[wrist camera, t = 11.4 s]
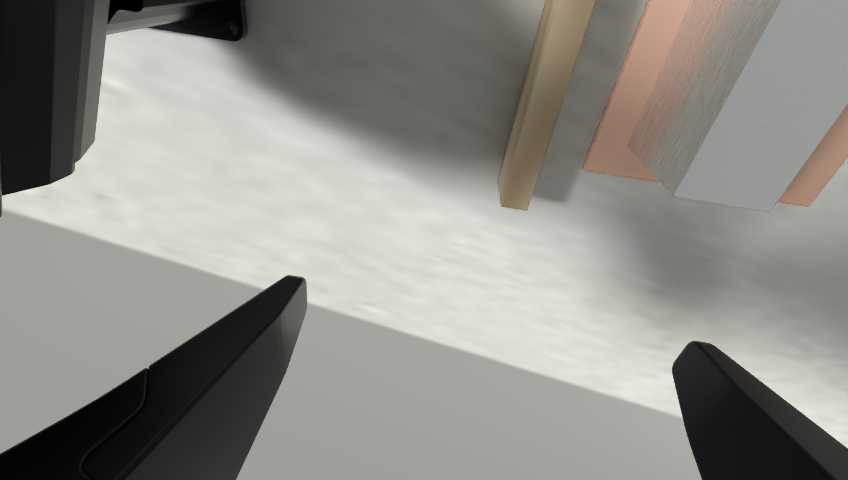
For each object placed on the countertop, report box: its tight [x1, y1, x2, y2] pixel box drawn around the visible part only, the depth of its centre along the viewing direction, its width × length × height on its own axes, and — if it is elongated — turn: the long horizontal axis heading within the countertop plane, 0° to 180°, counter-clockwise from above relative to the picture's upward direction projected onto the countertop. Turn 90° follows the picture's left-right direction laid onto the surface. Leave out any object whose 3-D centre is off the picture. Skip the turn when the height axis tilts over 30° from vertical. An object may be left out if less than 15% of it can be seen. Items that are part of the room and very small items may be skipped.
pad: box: [583, 0, 848, 206], centre depth 16 cm, size 11×13×1 cm
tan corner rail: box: [498, 0, 596, 211], centre depth 14 cm, size 15×18×2 cm
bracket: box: [627, 0, 848, 212], centre depth 14 cm, size 10×8×5 cm
